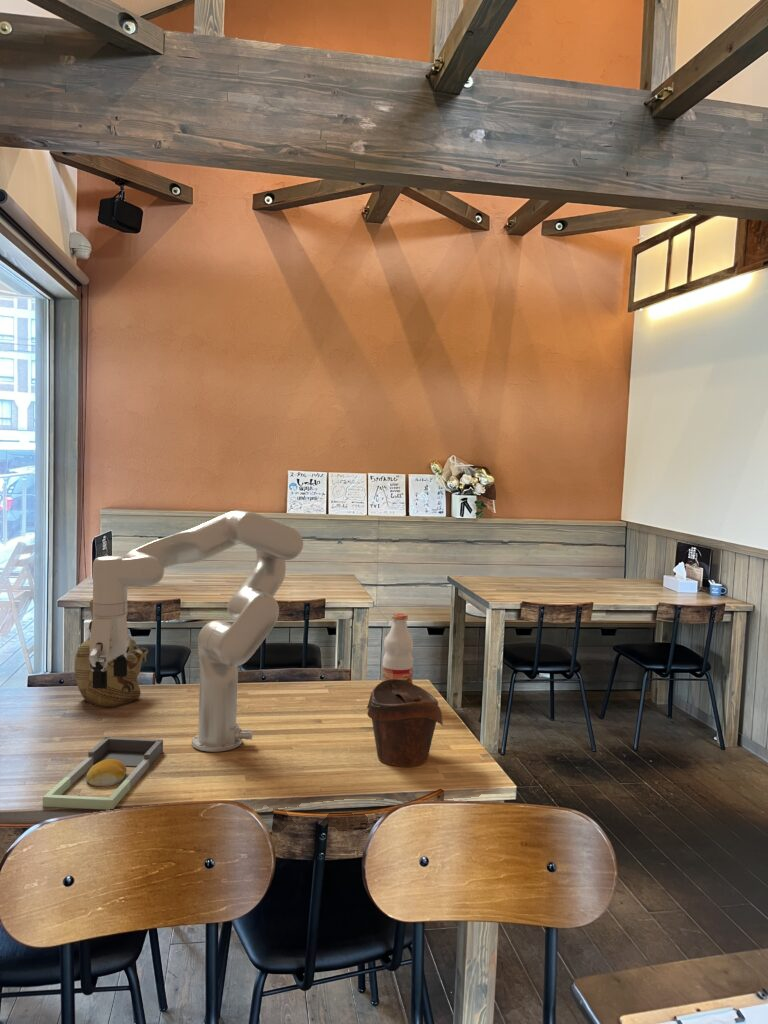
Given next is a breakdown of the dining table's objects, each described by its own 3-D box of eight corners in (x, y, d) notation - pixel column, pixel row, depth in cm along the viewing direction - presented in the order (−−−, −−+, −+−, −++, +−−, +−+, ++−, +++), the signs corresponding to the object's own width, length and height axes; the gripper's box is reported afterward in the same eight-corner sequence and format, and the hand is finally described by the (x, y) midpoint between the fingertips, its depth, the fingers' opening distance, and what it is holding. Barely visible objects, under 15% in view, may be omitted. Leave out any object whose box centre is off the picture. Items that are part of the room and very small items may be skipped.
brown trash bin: (423, 779, 171) (426, 703, 171) (350, 760, 181) (353, 688, 180) (454, 756, 187) (457, 686, 186) (385, 740, 196) (388, 674, 196)
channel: (162, 751, 182) (163, 739, 182) (112, 809, 150) (112, 795, 150) (105, 748, 182) (105, 737, 182) (42, 806, 151) (42, 792, 150)
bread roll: (127, 770, 171) (128, 753, 171) (122, 786, 162) (123, 768, 162) (89, 772, 169) (90, 755, 169) (83, 788, 160) (83, 770, 160)
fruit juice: (391, 698, 233) (394, 610, 232) (416, 703, 229) (420, 614, 227) (375, 705, 225) (378, 615, 224) (401, 711, 221) (405, 619, 219)
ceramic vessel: (154, 704, 219) (156, 604, 217) (77, 712, 208) (79, 608, 207) (141, 687, 235) (143, 594, 234) (70, 694, 225) (72, 597, 224)
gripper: (112, 602, 180) (113, 671, 181) (75, 616, 162) (75, 692, 164) (142, 603, 179) (142, 672, 180) (107, 617, 162) (107, 694, 163)
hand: (110, 681), depth 172 cm, fingers open, 9 cm apart
